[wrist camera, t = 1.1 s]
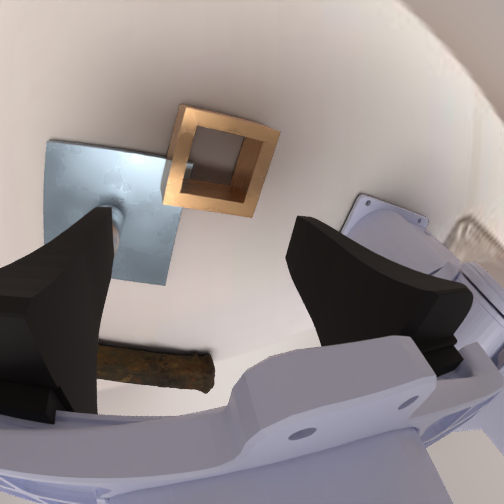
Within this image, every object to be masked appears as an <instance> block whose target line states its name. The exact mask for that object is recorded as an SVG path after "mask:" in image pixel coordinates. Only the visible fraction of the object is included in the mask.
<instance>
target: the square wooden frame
mask: <svg viewBox="0 0 504 504" xmlns="http://www.w3.org/2000/svg"><path fill="white" fill-rule="evenodd" d="M197 126H202V127H207V128H211V129H216V130H220V131H224V132H228V133H233V134H237V135H241V136H245V138H244V141H243V144H242V148H241V151H240V154H239V157H238V161H237V164H236V167H235V171H234V174H233V177H232V181H231V184H230V186H228V185H222V184H217V183H212V182H206V181H200V180H195V179H189V178H183V177H184V173H185V169H186V165H187V161H188V157H189V154H190V150H191V146H192V142H193V138H194V135H195V131H196V128H197ZM279 135H280V131H277V130H275V129H272V128H270V127H268V126H265V125H263V124H260V123H256V122H253V121H249V120H245V119H242V118H238V117H234V116H230V115H226V114H222V113H218V112H214V111H210V110H206V109H201V108H197V107H192V106H187V105H183V104H180V107H179V110H178V114H177V117H176V121H175V125H174V129H173V133H172V137H171V141H170V145H169V149H168V153H167V157H166V162H165V166H164V170H163V175H162V180H161V184H160V189H161V196H162V203H163V204H164V205H171V206H178V207H185V208H192V209H198V210H205V211H212V212H218V213H225V214H231V215H237V216H244V217H250V218H252V217H253V214H254V211H255V208H256V205H257V202H258V199H259V196H260V193H261V190H262V187H263V183H264V180H265V177H266V174H267V171H268V168H269V165H270V162H271V159H272V156H273V153H274V150H275V147H276V144H277V141H278V138H279Z"/></svg>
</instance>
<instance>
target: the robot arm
mask: <svg viewBox="0 0 504 504" xmlns="http://www.w3.org/2000/svg"><path fill="white" fill-rule="evenodd" d="M368 200H369V201H368ZM367 201H368V203H366V202H367ZM428 223H429V220H428V218H426V217H425V216H422V215H420V214H417V213H414V212H412V211H409V210H406V209H404V208H401V207H398V206H396V205H393V204H390V203H387V202H385V201H382V200H379V199H376V198H373V197H370V196H367V195H365V194H362V195H360V196H358V198H357V200H356V202H355V204H354V206H353V208H352V210H351V212H350V214H349V216H348V219H347V221H346V223H345V225H344V227H343V229H342V231H341V233H340V232H338V231H337V230H335V229H333V228H332V227H330V226H328V225H327V224H325V223H323V222H321V221H319V220H317V219H315V218H312V217H306V216H297V218H296V222H295V226H294V229H293V233H292V236H291V240H290V243H289V247H288V250H287V254H286V257H285V258H286V262H287V265H288V269H289V272H290V275H291V278H292V280H293V282H294V284H295V286H296V288H297V290H298V292H299V294H300V296H301V298H302V300H303V302H304V304H305V306H306V309H307V311H308V313H309V315H310V317H311V319H312V321H313V323H314V326H315V328H316V331H317V334H318V337H319V340H320V343H321V346H322V347H314V348H306V349H297V350H293V351H289V352H286V353H281V354H277V355H274V356H270V357H268V358H266V359H265V360H263V361H261V362H259V363H258V364H256V365H254V366H252V367H251V368H249V369H247V370H246V371H245V373H244V374H243V375H242V376H241V378H240V379H239V381H238V382H237V383H236V384H235V386H234V387H233V389H232V392H231V396H230V399H229V403H228V405H227V406H223V407H219V408H214V409H210V410H205V411H201V412H196V413H191V414H186V415H180V416H116V415H98V413H97V351H98V337H99V328H100V322H101V318H102V313H103V309H104V304H105V300H106V296H107V292H108V288H109V284H110V280H111V275H112V268H113V260H114V243H113V226H112V207H95V208H94V209H92V210H91V211H89V212H88V213H87V214H86V215H84V216H83V217H82V218H81V219H79V220H78V221H77V222H75V223H74V224H73V225H72V226H70V227H69V228H68V229H66V230H65V231H64V232H62V233H61V234H60V235H58V236H57V237H55V238H54V239H53V240H51V241H50V242H48V243H47V244H45V245H44V246H42V247H40V248H39V249H37V250H36V251H34V252H32V253H30V254H29V255H27V256H25V257H23V258H21V259H19V260H17V261H15V262H13V263H11V264H9V265H7V266H4V267H2V268H0V491H1V492H4V493H7V494H9V495H12V496H15V497H19V498H22V499H25V500H29V501H32V502H35V503H39V504H453V502H452V500H451V498H450V496H449V494H448V492H447V490H446V488H445V486H444V484H443V482H442V480H441V478H440V476H439V474H438V472H437V470H436V468H435V466H434V464H433V462H432V460H431V458H430V456H429V454H428V452H427V450H426V447H428V446H430V445H432V444H433V443H435V442H436V441H438V440H440V439H441V438H443V437H445V436H446V435H448V434H449V433H451V432H458V431H468V430H483V431H484V432H485V434H487V436H488V437H489V438H490V439H491V441H492V442H493V443H494V444H495V446H496V447H497V448H498V449H499V451H500V452H501V453H502V454H503V456H504V289H503V288H502V287H501V286H500V285H499V284H498V283H497V282H496V281H495V280H494V279H493V278H492V277H491V276H490V275H489V274H488V273H487V272H486V271H485V270H484V269H483V268H482V267H481V266H480V265H479V264H478V263H477V262H475V261H473V262H469V263H468V262H464V263H463V265H462V263H461V262H460V260H459V259H458V258H457V257H456V256H455V255H453V254H452V253H451V252H450V251H449V250H448V249H447V248H446V247H445V246H444V245H443V244H442V243H441V242H439V241H438V240H437V239H436V238H435V237H434V236H433V235H432V234H431V233H429V232H428V231H427V230H426V227H427V225H428Z"/></svg>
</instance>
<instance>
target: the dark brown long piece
mask: <svg viewBox="0 0 504 504" xmlns="http://www.w3.org/2000/svg"><path fill="white" fill-rule="evenodd" d="M214 377H215V367H214V363H213V360H212V357H211V355H210V354H207V355H205V356H201V357H200V356H199V355H197V354H196V353H193V354H191V355H190V356H184V355H173V354H162V353H154V352H147V351H144V350H131V349H127V348H117V347H111V346H104V345H99V344H98V351H97V379H104V380H111V381H117V382H124V383H132V384H140V385H151V386H158V387H169V388H179V389H196V390H199V391H201V392H203V393H205V394H206V393H208V392H209V391H210V389H211V388H213V386H214Z"/></svg>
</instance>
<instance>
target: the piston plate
mask: <svg viewBox="0 0 504 504" xmlns="http://www.w3.org/2000/svg"><path fill="white" fill-rule="evenodd" d="M165 162H166V156H161V155H155V154H149V153H144V152H138V151H132V150H126V149H119V148H113V147H106V146H99V145H92V144H84V143H76V142H68V141H59V140H49V141H47V145H46V157H45V171H44V202H43V215H44V245H45V244H47V243H48V242H50V241H51V240H53V239H54V238H55V237H57V236H58V235H60V234H61V233H62V232H64V231H65V230H66V229H68V228H69V227H70V226H72V225H73V224H74V223H75V222H77V221H78V220H79V219H81V218H82V217H83V216H84V215H86V214H87V213H88V212H89V211H91V210H92V209H94V208H95V207H112V226H113V243H114V260H113V268H112V275H111V278H113V279H119V280H126V281H134V282H141V283H148V284H156V285H163V286H165V284H166V279H167V274H168V269H169V264H170V259H171V255H172V250H173V245H174V241H175V236H176V232H177V228H178V223H179V219H180V215H181V211H182V207H178V206H171V205H164V204H163V203H162V196H161V189H160V184H161V180H162V175H163V170H164V166H165ZM192 168H193V162H192V161H187V165H186V169H185V173H184V177H183V178H189V179H190V175H191V171H192Z"/></svg>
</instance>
